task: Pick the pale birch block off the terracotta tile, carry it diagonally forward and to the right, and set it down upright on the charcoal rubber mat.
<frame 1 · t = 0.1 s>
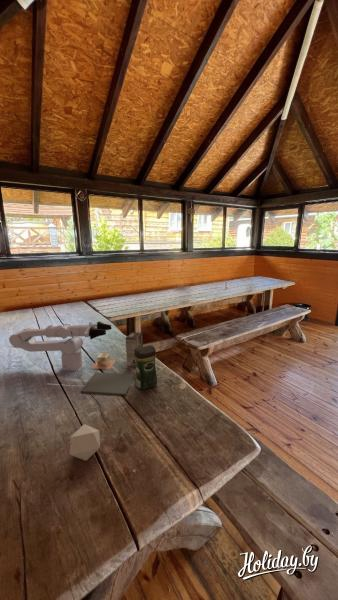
hand: (108, 329, 121), 22 cm above the table, tool horizontal, fingers open, 7 cm apart
coffee jar: (146, 385, 112), on the table
coffee box: (135, 363, 133), on the table
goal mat: (109, 383, 113), on the table
die: (86, 453, 76), on the table
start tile: (104, 365, 131), on the table
birch block: (104, 364, 130), point 1 cm above the table, touching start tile
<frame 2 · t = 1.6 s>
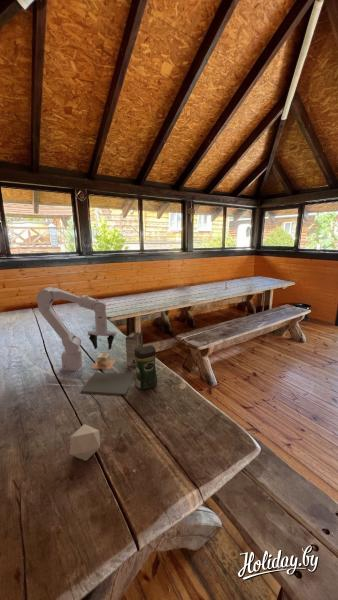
hand: (102, 348, 128), 9 cm above the table, tool pointing down, fingers open, 7 cm apart
nothing on the table moved.
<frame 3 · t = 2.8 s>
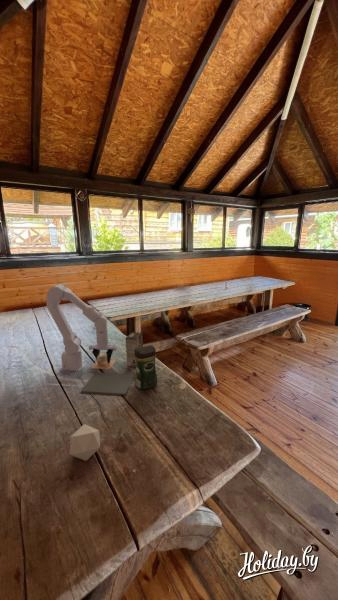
hand: (103, 362, 130), 2 cm above the table, tool pointing down, fingers closed on birch block, 5 cm apart
birch block: (104, 364, 130), point 1 cm above the table, touching gripper, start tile
everything else where it was.
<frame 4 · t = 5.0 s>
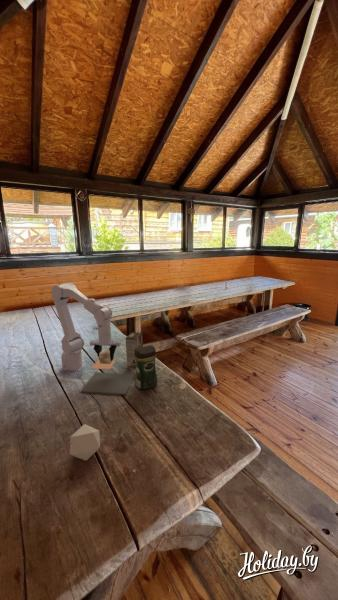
hand: (106, 359, 118), 9 cm above the table, tool pointing down, fingers closed on birch block, 5 cm apart
birch block: (106, 361, 118), point 8 cm above the table, touching gripper
everything else where it was.
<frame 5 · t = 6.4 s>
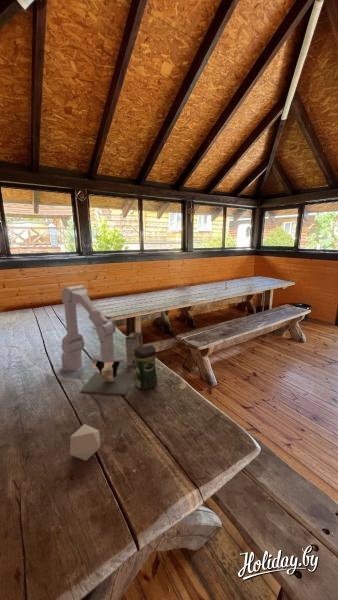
hand: (109, 376, 112), 4 cm above the table, tool pointing down, fingers closed on birch block, 5 cm apart
birch block: (109, 378, 113), point 3 cm above the table, touching gripper
everything else where it was.
when the fingers open (3 cm above the table, at t = 7.5 s): birch block drops 1 cm, resting on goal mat.
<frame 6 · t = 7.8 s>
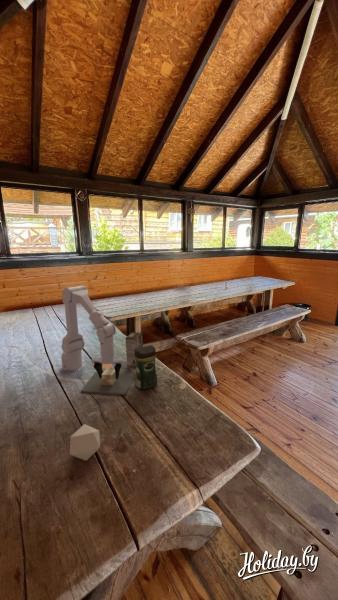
hand: (109, 377, 112), 3 cm above the table, tool pointing down, fingers open, 7 cm apart
birch block: (109, 381, 113), point 1 cm above the table, touching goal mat
everything else where it was.
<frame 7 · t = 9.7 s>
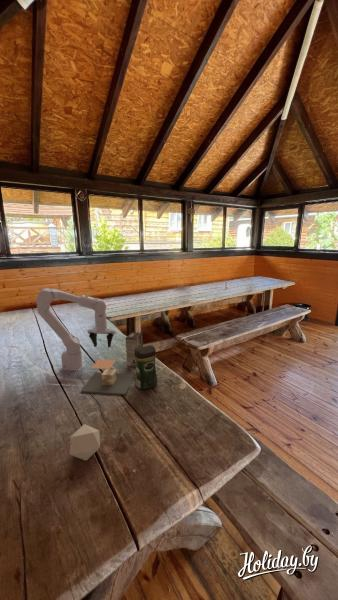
hand: (102, 346, 131), 9 cm above the table, tool pointing down, fingers open, 7 cm apart
nothing on the table moved.
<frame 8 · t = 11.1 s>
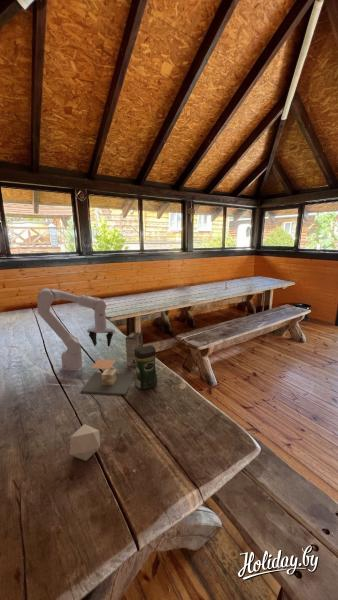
hand: (102, 345, 133), 9 cm above the table, tool pointing down, fingers open, 7 cm apart
nothing on the table moved.
at the end: birch block inside the target area on the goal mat (0.2 cm from its centre), point 0.8 cm above the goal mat's base; birch block tilted 0°; the gripper is holding nothing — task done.
